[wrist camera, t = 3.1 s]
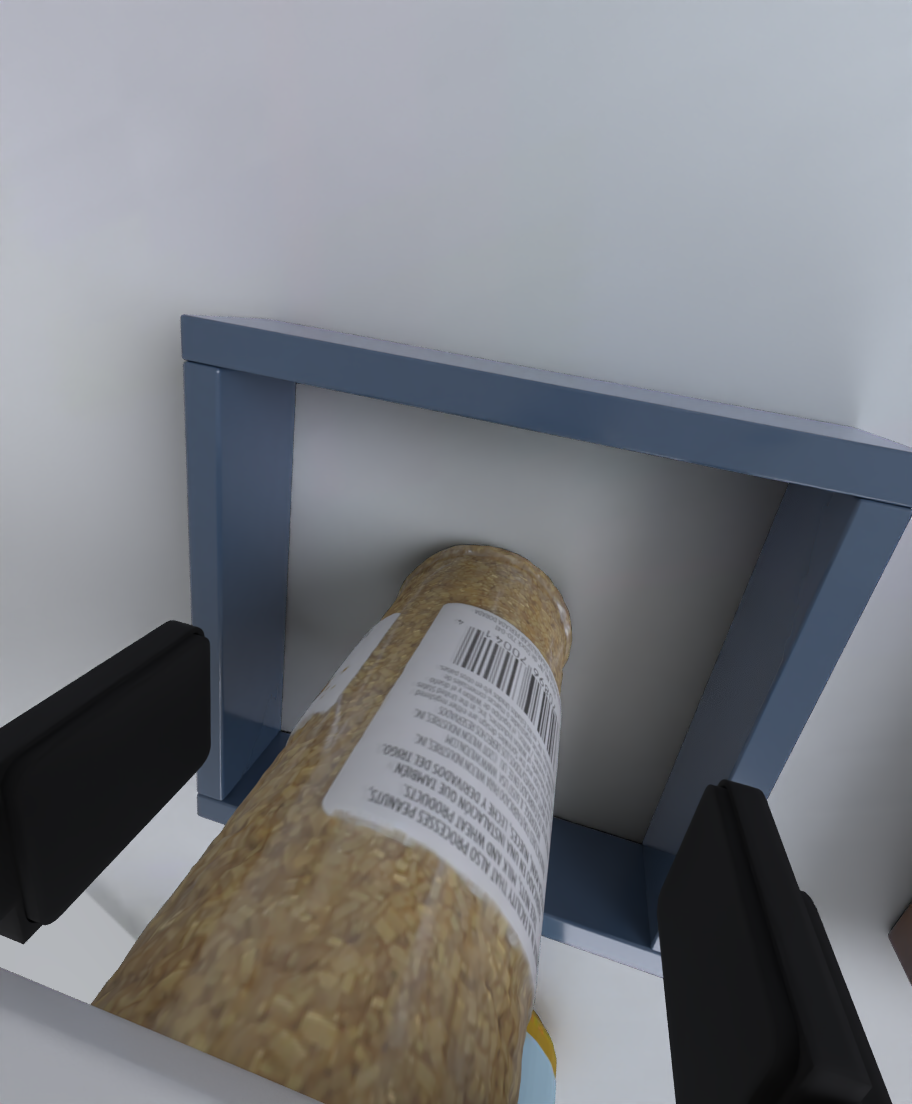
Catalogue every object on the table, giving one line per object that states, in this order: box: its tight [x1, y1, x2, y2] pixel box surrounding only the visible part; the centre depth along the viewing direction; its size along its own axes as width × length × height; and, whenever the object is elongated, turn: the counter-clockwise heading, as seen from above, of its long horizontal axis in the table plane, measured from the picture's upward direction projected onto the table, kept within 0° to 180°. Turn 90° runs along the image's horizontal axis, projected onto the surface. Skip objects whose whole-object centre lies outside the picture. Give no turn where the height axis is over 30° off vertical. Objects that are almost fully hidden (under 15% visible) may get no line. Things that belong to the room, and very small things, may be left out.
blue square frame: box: [181, 314, 912, 978], centre depth 13 cm, size 13×13×3 cm
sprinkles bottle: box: [91, 545, 572, 1104], centre depth 8 cm, size 5×4×13 cm
